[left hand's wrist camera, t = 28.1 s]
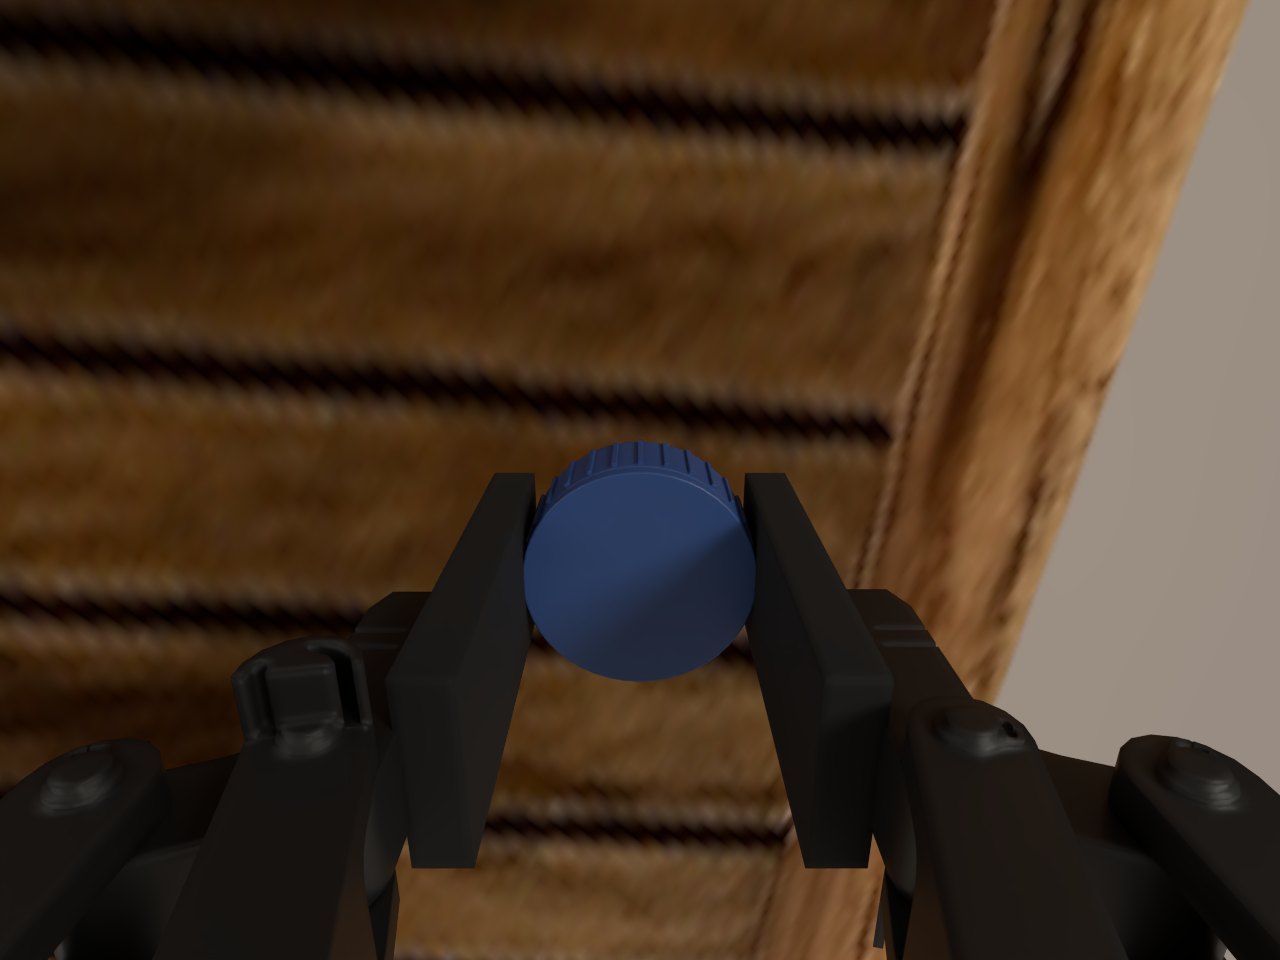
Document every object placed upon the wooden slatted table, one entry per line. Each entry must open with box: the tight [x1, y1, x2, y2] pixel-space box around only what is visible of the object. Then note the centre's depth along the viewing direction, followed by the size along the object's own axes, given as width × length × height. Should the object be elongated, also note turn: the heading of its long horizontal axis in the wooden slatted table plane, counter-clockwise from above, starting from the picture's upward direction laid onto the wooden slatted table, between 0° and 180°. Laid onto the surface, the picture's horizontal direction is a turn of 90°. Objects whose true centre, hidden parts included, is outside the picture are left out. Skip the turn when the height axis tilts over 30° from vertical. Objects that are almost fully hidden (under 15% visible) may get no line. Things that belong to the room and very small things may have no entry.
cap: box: [523, 440, 756, 682], centre depth 14 cm, size 4×4×2 cm
